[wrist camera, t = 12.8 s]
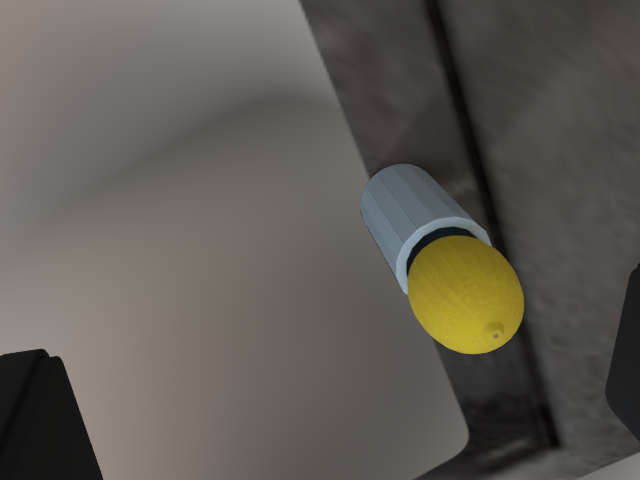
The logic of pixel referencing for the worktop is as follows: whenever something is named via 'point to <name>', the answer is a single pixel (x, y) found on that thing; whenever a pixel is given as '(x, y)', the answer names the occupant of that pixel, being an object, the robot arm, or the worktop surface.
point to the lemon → (465, 294)
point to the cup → (411, 215)
